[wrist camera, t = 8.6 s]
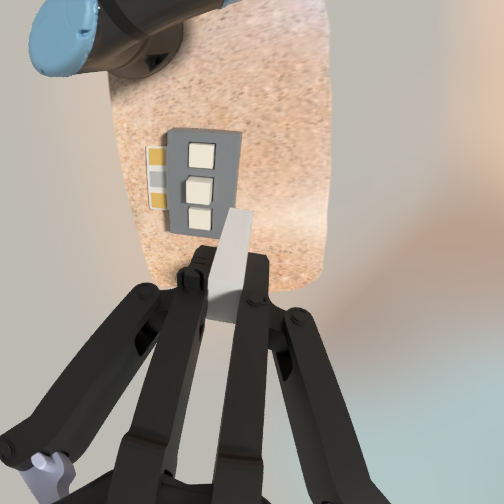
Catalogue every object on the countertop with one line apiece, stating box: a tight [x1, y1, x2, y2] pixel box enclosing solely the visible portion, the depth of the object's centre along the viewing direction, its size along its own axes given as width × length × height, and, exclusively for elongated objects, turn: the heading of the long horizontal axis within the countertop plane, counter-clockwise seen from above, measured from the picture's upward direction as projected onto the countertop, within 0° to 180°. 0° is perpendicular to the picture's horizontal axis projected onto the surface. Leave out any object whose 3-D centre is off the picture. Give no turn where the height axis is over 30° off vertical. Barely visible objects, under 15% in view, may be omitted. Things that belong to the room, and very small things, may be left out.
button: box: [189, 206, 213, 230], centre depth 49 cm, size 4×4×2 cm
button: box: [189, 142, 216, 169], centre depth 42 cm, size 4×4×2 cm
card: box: [146, 146, 169, 210], centre depth 47 cm, size 13×4×1 cm, turn 174°
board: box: [167, 128, 242, 239], centre depth 46 cm, size 20×12×3 cm, turn 174°
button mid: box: [186, 176, 213, 205], centre depth 45 cm, size 4×4×2 cm
